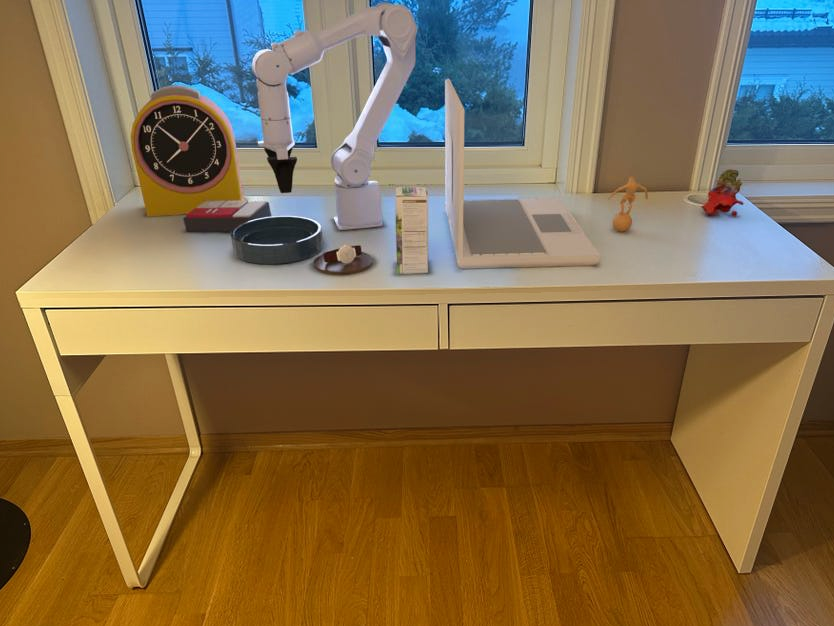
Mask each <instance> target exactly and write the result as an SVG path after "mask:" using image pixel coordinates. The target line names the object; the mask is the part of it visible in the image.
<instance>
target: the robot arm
mask: <svg viewBox="0 0 834 626" xmlns="http://www.w3.org/2000/svg"><path fill="white" fill-rule="evenodd" d="M417 33H418V27H417V23H416V20H415V18H414V16H413V13H412V12H411V9H409V8H408V7H407V6H405V5H403V4H392V3H390V2H385V1H384V2H380V3H377V5H375V6H369V7H365V8H363V9H361V10H359V11H357V12H354V13H353V14H350V15H349V16H346V17H345V18H343V19H342V20H339V21H338V22H336V23H334V24H333V25H330V26H328V27H327V28H324V29H323V30H321V31H319V32H316V33H315V32H312V31H310V30H308V29H305V30H303V31H302V30H301V29H298V30H295V31H294V32H293V36H291V37H289V38H288V39H285V40H283V41H281V42H279V43H277V42H276V41H275V42H271V44H270V46H271V49H268V48H263V49H260V50H259V51H257V52H256V53H255V55H254V56H253V58H252V62H251V70H252V73H253V74H254V75H255V77H256V88H257V94H256V95H257V101H258V109H259V116H260V124H261V130H262V140H258V141H257V147H260V148H263V147H264V148H263V150H264V152H265V153H266V155H267V157H266V161H267V163H268V165H269V166H270V167H271V169H272V171H273V173H274V177H275V179H276V183H277V187H278V190H279V192H280V194H289V193H290V194H291V193H292V191H293V180H294V179H293V177H294V171H295V167H296V164H297V162H298V157H297V156H292V155H291V154H292V153H293V147H294V146H295V144H296V143H295V139H294V135H293V125H292V117H291V116H292V115H291V107H290V106H291V105H290V98H289V92H288V90H287V78H288V77H289V75H291V76H293V75H295V74H296V73H299V72H301V71H303V70H305V69H307V68H309V67H311V66H314V65H316V64H317V63H319V62H321V61H322V59H323V56H324V53H325V51H327V50H329V49H333V48H334V47H336V46H339V45H341V44H343V43H346V42H348V41H351V40H353V39H355V38H358V37H359V36H365V35H366V36H372V37H377V38H378V40H379V41H380V43H381V45H382V48H383V51H384V54H385V57H386V62H385V64H384V67H383V69H382V70H381V72H380V75H379V76H378V78H377V81H376V83H375V85H374V87H373V89H372V91H371V93H370V94H369V97H368V99H367V101H366V104H365V105H364V107H363V109H362V111H361V113H360V115H359V117H358V119H357V122H356V124H355V126H354V128H353V130H352V131H351V132H350V134H348V135H347V136H346V137H345V138H344V140H343V142H342V143H341V145H340V146H339V147H337V148H336V149H335V150H334V151H333V152H332V154H331V158H330V165H331V168H332V169H333V172H335V173H336V176H335V179H334V181H333V183H334V195H335V205H336V206H335V207H336V216H334V217H333V221H334V223H335V225H336V228H337V229H338V230H339V231H349V230H356V229H368V228H369V229H370V228H378V227H383V226H384V225H383V217H382V215H383V213H382V197H381V189H380V185H379V182H378V181H377V180H369V178H370V175H371V165H372V162H373V160H374V158H375V146H376V143H377V141H378V140H379V137H380V135H381V133H382V132H383V130H384V127H385V125H386V123H387V122H388V119H389V117H390V116H391V114H392V112H393V109H394V107H396V104H397V102H398V99H399V98H400V96H401V93H402V92H403V90H404V87H405V86H406V84H407V82H408V80H409V78H410V76H411V75H412V72H413V70H414V68H415V66H416V36H417Z"/></svg>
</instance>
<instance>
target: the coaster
mask: <svg viewBox="0 0 834 626" xmlns="http://www.w3.org/2000/svg"><path fill="white" fill-rule="evenodd" d="M373 263H374V261H373V256H371V255H370V254H368V253H366V252H364V251H362V254H361V255H359V256H356V257H354V259H353V260H352V261H351V262H350V263H343V262H341V261H334V262H328V263H326V262H325V261H324V257H323V253H322V254H320V255H318V256H317V257H315V258H314V259H313V267H314V269H315V270H316V271H318V272H320V273H322V274H325V275H326V274H327V275H331V276H346V275H353V274H358V273H361V272H364V271H366V270H368V269H369V268H370V267H372V265H373Z"/></svg>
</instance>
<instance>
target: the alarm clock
mask: <svg viewBox="0 0 834 626" xmlns="http://www.w3.org/2000/svg"><path fill="white" fill-rule="evenodd" d="M130 145H131V152H132V156H133V160H134V165H135V169H136V170H135V171H136V173H137V177H138V182H139V183H138V184H139V186H140V191H141V194H142V199H143V203H144V208H145V212H146V213H145V214H146V217H161V216H162V217H163V216H176V215H186V214H188V213H189V212H190V211H192V210H193V209H195V208H197V207H198V206H199V205H201V204H202V203H204V202H205V201H225V202H227V201H240V200H245V196H244V195H245V194H244V188H243V183H242V176H241V175H242V174H241V169H240V163H239V156H238V149H237V144H236V136H235V133H234V130H233V126H232V124H231V121H230V120H229V118H228V117H227V115H226V113H225V112H224V111H223V110H222V109H221V108H220V107H219V106H218V104H216V103H215V102H214V101H212V100H211V99H210V98H208V97H207V96H205V95H203V94H201V92H200V90H198V89H196V88H193V87H191V86H185V85H179V84H173V85H167V86H164V87H161V88H159V89H157V90H155V91H153V92H152V93H151V94H150V100H148V102H146V104H144V106H143V107H142V108H141V109H140V110H139V112H138V114H136V117H135V118H134V120H133V122H132V126H131V132H130Z"/></svg>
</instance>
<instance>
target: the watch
mask: <svg viewBox="0 0 834 626" xmlns="http://www.w3.org/2000/svg"><path fill="white" fill-rule="evenodd" d="M362 252H363V251H362V245H360V244H359V245H347V244H345V243H343V245H342V246H341V247H339V248H336V249H331V250H329V251H326V252H325V251H324V252H323V253H322V254H323V257H324V261H325V262H326V263H328V262H334V261H341V262H343V263H350V262H351V261H352V260H353V259H354V257H356V256H359V255H361V254H362Z"/></svg>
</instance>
